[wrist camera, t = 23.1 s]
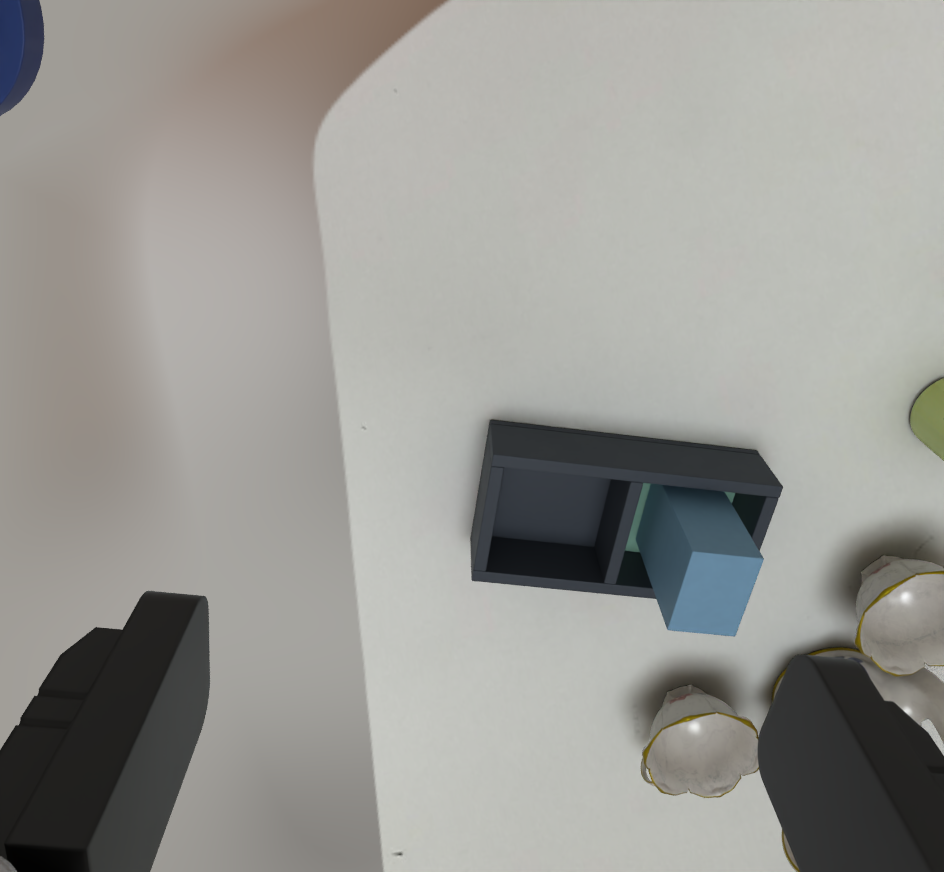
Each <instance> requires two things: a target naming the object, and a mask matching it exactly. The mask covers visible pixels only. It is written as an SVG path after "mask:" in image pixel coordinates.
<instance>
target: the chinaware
mask: <svg viewBox="0 0 944 872" xmlns="http://www.w3.org/2000/svg"><path fill="white" fill-rule="evenodd" d="M861 574H862V585H861V587H860V589H859V592H858V596H857V600H856V616H857V621H858V627H857V631H856V634H855V636H854V643H855V645H856V647H857V648H858V649H859V650H856V649H852V648H842V647H837V648H827V649H822V650H818V651H815V652H812V653H810V654H807V655H813V656H824V657H834V658H845V659H852V660H855V661H857V662H858V663H859V664H860V665H861V666H862V667H863V668H864V670H865V671H866V673H867V674H868V676H869V677H870V679H871V680H872V682H873V683H874V685H875V687H876V688H877V690H878V691H879V693H880V694H881V696H882V697H883V699H884V701H893V702H895V703H896V704H897V705H898V706H899V707H900V708H901V709H902V710H903V711H905V712H906V713H907V714H908V715H909V716H910V717H911V718H912V719H913V720H914V721H916V722H917V723H918V724H919V725H920V726H922V722H923V721H924V720H926V719H929V720H930V721H931V722H932V723H933V725H934V726H935V728H936V730H937V731H938V733H939V735H940V737H941V739H942V741H943V743H944V682H943V681H941V680H940V679H939V678H938V677H937V676H936V675H935V674H933V673H932V672H930V671H929V670H927V669H925V668H924V667H925V663H926V664H927V665H928V666H944V567H942V566H940V565H937V564H934V563H932V562H928V561H924V560H916V559H902V558H899V557H893V556H885V555H883V556H881V558H879V559H878V560H876V561H874V562H873V563H871V564H870V565H869V566H868V567H867V568H866V569H865V570H863V571H861ZM786 669H787V668H786ZM786 669H785V670H784V671H783V672H782V673H781V675H780V676H779V677H778V679H777V681H776V683H775V685H774V688H773V692H772V702H773V700H774V698H775V695H776V693H777V691H778V688H779V686H780V683H781V681H782V679H783V676H784V674H785V672H786ZM758 739H759V738H758V732H757V730H756V728H755V727H754V725H753V724H752V722H751V721H750V720H749V719H748V718H746V717H740V716H738V714H737V713H736V712H735V711H734V710H733V709H732V708H731V707H730V706H729V705H727V704H726V703H725V702H723V701H722V700H720V699H718V698H716V697H713V696H711V695H708V694H706V693H704V692H703V691H702V690H701V689H699V688H697V687H694V686H693V685H689V686H684V687H680V688H677V689H674V690H672V691H668V692H667V695H666V697H665V699H664V703H663V707H662V708H661V709H660V710H659V712H658V713H657V715H656V716H655V718H654V721H653V723H652V727H651V731H650V741H649V743H648V744H647V745H646V746H645V747H644V749H643V752H642V756H643V758H642V762H641V774H642V777H643V779H644V780H645V781H646V782H647V783H648V784H650V785H652V786H656V787H657V788H658V790H659V791H660V792H661V793H664V794H669V795H679V794H682V793H687V791H688V789H689V791H690V793H693V794H696V795H698V796H701V797H704V798H712V797H721V796H723V795H724V794H726V793H728V792H730V791H732V790H733V789H734V787H735V786H736V785H737V783H738V782H739V780H740V779H741V775H743V776H745V775H748V774H752V773H755V772H756V771H757V770H758V769H759V765H758V751H757V750H758ZM646 768H647V769H649V774H650V777H651V779H652V781H650V780H649V778H648V777H647V774H646ZM740 774H741V775H740ZM782 844H783V849H784V852H785V855H786V857H787V860H788V861H789V863H790V865H791V866H792V867H793V869H794V870H795V871H796V872H800V871H799V868H798V866H797V863H796V861H795V858H794V856H793V854H792V851H791V849H790V846H789V844H788V841H787V839H786V836H785V834H784V832H783V829H782Z"/></svg>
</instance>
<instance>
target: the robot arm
mask: <svg viewBox="0 0 944 872" xmlns="http://www.w3.org/2000/svg"><path fill="white" fill-rule="evenodd" d="M208 614H209V613H208V601H207V598H206V597H205V596H198V595H187V594H176V593H166V592H155V591H146V592H145V593H144V594H143V595H142V596H141V598H140V599H139V601H138V603H137V605H136V607H135V609H134V610H133V612H132V614H131V616H130V617H129V619H128V621H127V623H126V625H125V626H124V628H123V630H120V629H109V628H97V627H96V628H94V629H93V630H92V631H91V632H89V633H88V634H87V635H86V636H84V637H83V638H82V639H80V640H79V641H78V642H77V643H75V644H74V645H73V646H71V647H70V648H69V649H67V650H66V651H65V652H64V653H62V654H61V655H60V657H59V658H58V660H57V661H56V663H55V664H54V666H53V668H52V669H51V671H50V672H49V674H48V675H47V677H46V679H45V680H44V682H43V683H42V685H41V687H40V688H39V693H38V695H37V696H34V698H33V699H32V701H31V702H30V704H29V706H28V707H27V709H26V710H25V712H24V713H23V715H22V717H21V721H20V724H19V726H17V725H16V726H15V728H14V729H13V731H12V732H11V734H10V736H9V737H8V739H7V740H6V742H5V743H4V745H3V747H2V748H1V750H0V872H150V870H151V868H152V865H153V862H154V859H155V857H156V854H157V851H158V848H159V846H160V843H161V840H162V837H163V835H164V832H165V829H166V826H167V824H168V821H169V818H170V815H171V812H172V810H173V807H174V804H175V801H176V798H177V796H178V793H179V790H180V788H181V785H182V782H183V779H184V777H185V773H186V771H187V769H188V766H189V763H190V760H191V758H192V755H193V752H194V749H195V746H196V744H197V741H198V738H199V735H200V733H201V730H202V726H203V723H204V719H205V715H206V710H207V704H208V698H209V688H210V662H209V616H208ZM757 751H758V765H759V770H760V774H761V778H762V780H763V783H764V785H765V788H766V790H767V793H768V795H769V798H770V800H771V802H772V805H773V807H774V810H775V812H776V815H777V817H778V819H779V822H780V824H781V827H782V829H783V832H784V834H785V836H786V839H787V841H788V844H789V846H790V849H791V851H792V854H793V856H794V858H795V861H796V863H797V866H798V868H799V871H800V872H944V756H943V754H942V753H941V751H940V750H939V748H938V747H937V745H936V744H935V742H934V741H933V739H932V738H931V736H930V735H929V733H928V732H927V731H926V730H924V729H923V728H922V727H921V726H920V725H919V724H918V723H917V722H916V721H914V720H913V719H912V718H911V717H910V716H909V715H908V714H907V713H906V712H905V711H903V710H902V709H901V708H900V707H899V706H898V705H897V704H896V703H895V702H893V701H884V699H883V697H882V696H881V694H880V693H879V691H878V690H877V688H876V687H875V685H874V683H873V682H872V680H871V679H870V677H869V676H868V674H867V673H866V671H865V670H864V668H863V667H862V666H861V665H860V664H859V663H858V662H857V661H855V660H852V659H845V658H834V657H824V656H813V655H802V654H801V655H797V656H795V657H794V658H793V659H792V660H791V661H790V663H789V665H788V667H787V669H786V672H785V674H784V676H783V679H782V681H781V683H780V686H779V688H778V691H777V693H776V695H775V698H774V700H773V702H772V705H771V707H770V709H769V712H768V714H767V717H766V719H765V721H764V724H763V726H762V728H761V731H760V734H759V739H758V750H757Z"/></svg>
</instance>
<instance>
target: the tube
mask: <svg viewBox="0 0 944 872" xmlns="http://www.w3.org/2000/svg"><path fill="white" fill-rule="evenodd" d="M910 423H911V427H912V430H913V432H914V434H915V435H916V436H917V438H918V439H919V440H920V441H922V442H923V443H924V444H925V445H926V446H927V447H928V448H929V449H931V450H932V451H933V452H934V453H935V454H936V455H938V456H939V457H940V458H941V459H942V460H943V461H944V378H943V379H940V380H938V381H937V382H935V383H933V384H932V385H930V386H929V387H928V388H927V389H926V390H925V391H924V392H923V393H922V394H921V395H920V396H919V397H918V399H917V400H916V402H915V404H914V406H913V408H912V411H911V416H910Z"/></svg>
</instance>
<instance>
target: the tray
mask: <svg viewBox="0 0 944 872" xmlns="http://www.w3.org/2000/svg"><path fill="white" fill-rule="evenodd" d="M651 484H659V485H668V486H677V487H686V488H695V489H704V490H713V491H722V492H725V493H726V495H727V497H728V498H729V500H730V502H731V504H732V505H733V507H734V509H735V510H736V512H737V514H738V516H739V517H740V519H741V521H742V522H743V524H744V526H745V528H746V529H747V531H748V533H749V534H750V536H751V538H752V540H753V541H754V543H755V545H756V546H757V548H758V550H759V551H760V548H761V545H762V543H763V540H764V537H765V534H766V532H767V529H768V526H769V524H770V521H771V518H772V515H773V513H774V510H775V507H776V505H777V502H778V498H779V497H780V494H781V491H782V489H783V486H782V485H781V483H780V482H779V481H778V479H777V478H776V476H775V475H774V474H773V472H772V471H771V469H770V468H769V467H768V465H767V464H766V462H765V461H764V460H763V458H762V457H761V456H760V454H759V453H758V451H756V450H748V449H740V448H731V447H722V446H713V445H705V444H696V443H687V442H679V441H670V440H661V439H653V438H644V437H635V436H627V435H618V434H609V433H601V432H592V431H583V430H575V429H566V428H557V427H549V426H540V425H531V424H522V423H514V422H505V421H496V420H490V423H489V429H488V435H487V441H486V447H485V453H484V459H483V465H482V471H481V478H480V484H479V490H478V496H477V502H476V508H475V514H474V520H473V526H472V532H471V574H472V581H481V582H491V583H501V584H511V585H521V586H531V587H541V588H551V589H562V590H572V591H582V592H592V593H602V594H612V595H622V596H633V597H643V598H653V599H656V596H655V593H654V590H653V587H652V585H651V582H650V579H649V576H648V573H647V570H646V568H645V565H644V562H643V559H642V556H641V554H640V551H639V548H638V545H637V542H636V536H637V532H638V528H639V525H640V521H641V518H642V514H643V510H644V507H645V503H646V500H647V496H648V492H649V489H650V485H651Z"/></svg>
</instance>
